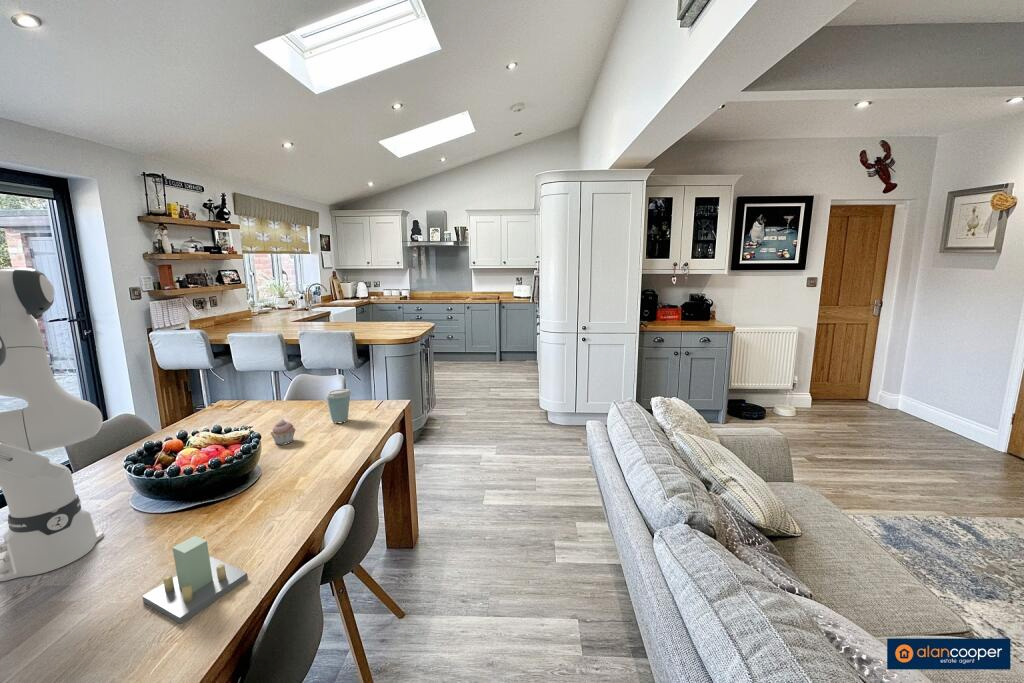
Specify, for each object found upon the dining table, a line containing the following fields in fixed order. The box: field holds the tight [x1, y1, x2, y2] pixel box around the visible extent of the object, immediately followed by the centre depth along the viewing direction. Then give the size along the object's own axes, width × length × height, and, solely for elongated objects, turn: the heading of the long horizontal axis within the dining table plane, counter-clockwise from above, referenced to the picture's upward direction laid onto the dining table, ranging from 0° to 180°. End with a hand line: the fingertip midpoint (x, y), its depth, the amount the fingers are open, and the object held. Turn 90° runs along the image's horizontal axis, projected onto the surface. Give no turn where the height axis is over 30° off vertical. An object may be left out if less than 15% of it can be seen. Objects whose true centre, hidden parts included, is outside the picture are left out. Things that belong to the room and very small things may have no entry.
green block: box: [171, 535, 213, 593], centre depth 95 cm, size 4×4×10 cm
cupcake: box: [270, 418, 297, 445], centre depth 175 cm, size 9×9×10 cm
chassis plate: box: [141, 555, 249, 625], centre depth 95 cm, size 14×14×4 cm
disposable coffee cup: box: [325, 388, 352, 424], centre depth 197 cm, size 11×11×15 cm
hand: (49, 468), depth 80 cm, fingers open, 8 cm apart
